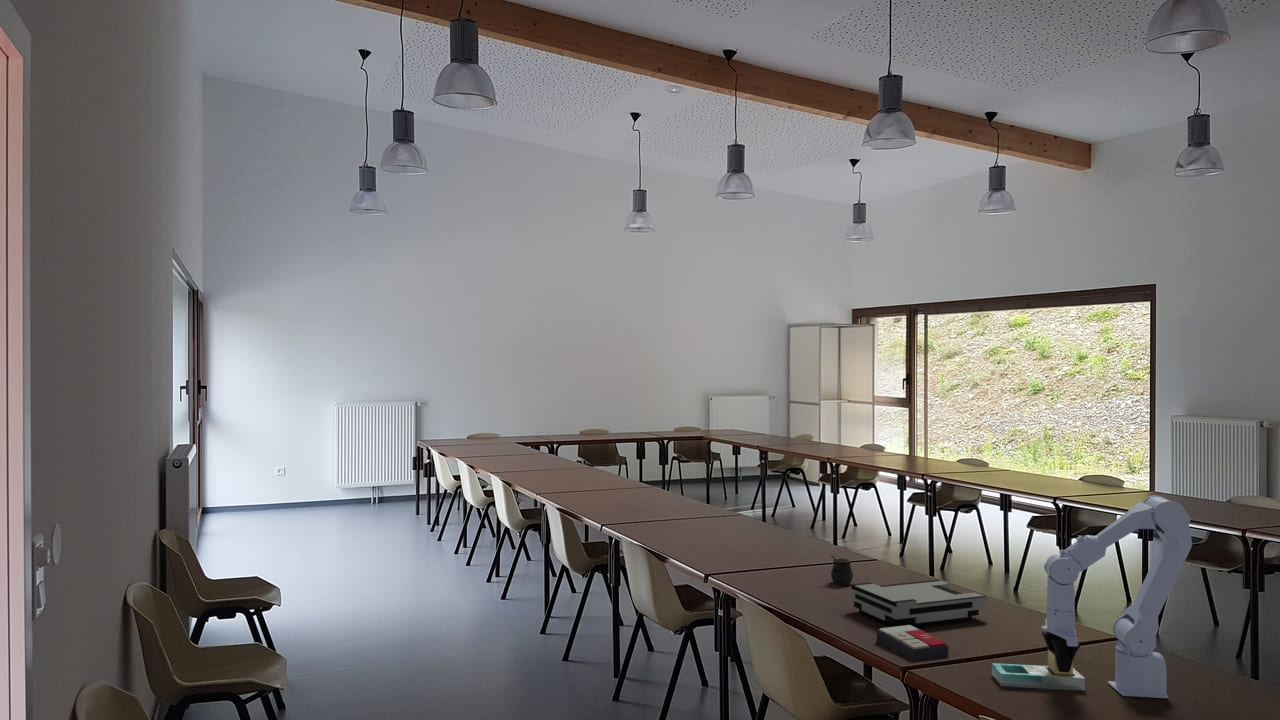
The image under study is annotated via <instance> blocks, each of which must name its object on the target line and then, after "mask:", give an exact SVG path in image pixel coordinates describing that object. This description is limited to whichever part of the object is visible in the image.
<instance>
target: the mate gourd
mask: <svg viewBox="0 0 1280 720" xmlns="http://www.w3.org/2000/svg"><path fill="white" fill-rule="evenodd" d="M829 555H830V556H831V557H832V558H833V566H832V569H831V571H830V576H831V579H832V581H833V582H834V583H835V584H836V585H839V586H847V585H850V584H852V581H853V577H854V572H853V570H852V567H851V559H848V558H844V557H841V558H835V557H834V555H833V554H832V553H829Z"/></svg>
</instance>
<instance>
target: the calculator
mask: <svg viewBox="0 0 1280 720" xmlns="http://www.w3.org/2000/svg"><path fill="white" fill-rule="evenodd" d="M876 643H878V644H880V645H882V646H884V647H886V648H888V649H890V650H892V651H895V652H896V653H897V654H899V655H901V656H903V657H905V658H908V659H910V660H912V661H918V660H926V659H934V658H941V657H948V656H949V648H950V647H949V645H948V644H947V643H946V642H945V641H943V640H942V639H939V638H937V637H936V636H933V635H931V634H930V633H928V632H926V631H924V630H922V629H919V628H915V627H913V626H912V625H905V626H897V627H893V626H889V627H882V628H879V629H878V628H877V629H876Z"/></svg>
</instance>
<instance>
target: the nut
mask: <svg viewBox="0 0 1280 720" xmlns="http://www.w3.org/2000/svg"><path fill="white" fill-rule="evenodd" d="M1047 666H1048V671H1049V672H1050V673H1051V674H1052V675H1062V676H1073V668H1074V660H1073V661H1072V665H1071V669H1070V672H1060V671H1059V669H1058V665H1057V657H1056V652H1055V649H1048V648H1047Z"/></svg>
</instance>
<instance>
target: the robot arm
mask: <svg viewBox="0 0 1280 720" xmlns="http://www.w3.org/2000/svg"><path fill="white" fill-rule="evenodd" d="M1190 522H1191V517H1190V515H1189V514H1188V512H1187V511H1186V510H1185V508H1184V507H1183V505H1181V504H1180V503H1178V502H1177V501H1172V500H1169V499H1167V498H1165V496H1161V495H1149V496H1148V497H1146V498H1145V499H1144V500H1143V501H1139V502H1137V503H1135V505H1133V506H1132V507H1131V508H1129V510H1128V511H1126V512H1124V514H1122V515H1121V516H1119V517H1118V518H1117V519H1115V520H1114V521H1113V522H1112V523H1111V524H1109V525H1108V526H1106V527H1105V528H1104V529H1103V530H1101V531H1100V532H1098V533H1097V534H1096V535H1091V534H1090V535H1089V534H1086V535H1084V536H1082V535H1079V536H1077V537H1076V538H1075V539H1076V541H1075V542H1074V543H1072V544H1071V545H1069V546H1068V547H1067V548H1065V549H1060V550H1059V551H1058V553H1057V554H1053V555H1051V556H1049V557H1048V558H1047V559H1046V562H1045V564H1044V565H1043V568H1044V571H1045V574H1047V575H1048V576H1047V586H1046V618H1044V625H1041V626H1040V627H1041V628H1040V629H1041V630H1042V631H1041V635H1042V637H1043V639H1044V640H1045V645H1046V648H1047V650H1048V649H1055V652H1056V657H1057V665H1058V669H1059V671H1060V672H1070V669H1071V665H1072V661H1073V662H1074V659H1075V657H1076V654H1077V652H1078V651H1079V649H1081V644H1080V643H1079V642H1078V641H1079V640H1078V637H1077V633H1076V627H1075V625H1076V623H1075V621H1076V620H1075V617H1076V616H1075V615H1076V613H1075V609H1076V608H1075V605H1076V603H1075V602H1076V601H1075V597H1076V596H1075V593H1076V590H1075V582H1076V581H1077V580H1078V578H1079V574H1080V573H1082V572H1083V571H1085V570H1087V569H1088V568H1089V567H1091V566H1092V565H1094V564H1096V563H1097V562H1098V561H1100V560H1102V559H1103V558H1104V557H1105V556H1106V552H1107V548H1109V547H1110V546H1112V545H1114V544H1115V543H1117V542H1119V541H1120V540H1121V539H1123V538H1125V537H1127V536H1129V535H1130V534H1132V533H1133V532H1136V531H1137V530H1144V529H1145V530H1156V533H1157V535H1158V536H1159V538H1160V540H1161V544H1160V547H1159V548H1158V551H1157V553H1156V555H1155V557H1154V559H1153V561H1152V563H1151V566H1150V568H1149V569H1148V572H1147V574H1146V576H1145V578H1144V580H1143V583H1142V585H1141V587H1140V589H1139V591H1138V593H1137V595H1136V597H1135V599H1134V601H1133V604H1131V605H1130V606H1128V607H1127V608H1125V610H1124V612H1123V614H1122V615H1121V616H1119V617H1118V618H1117V619H1116V620H1115V621H1114V622H1113V624H1112V631H1113V635H1114V636H1115V638H1116V639H1117V643H1116V644H1115V665H1114V666H1115V667H1114V668H1115V671H1114V672H1115V673H1114V675H1115V677H1114V678H1115V679H1114V680H1115V681H1114V680H1108V681H1107V684H1108V685H1110V686H1111V687H1112V688H1113V689H1114V690H1115V691H1116V692H1118V693H1119V694H1121V696H1123V697H1135V698H1136V697H1137V698H1152V699H1153V698H1154V699H1156V698H1157V699H1169V696H1168V695H1167V664H1166V661H1165V658H1164V656H1163V655H1162V654H1161V653H1160V652H1157V651H1156V652H1155V651H1154V650H1155V649H1156V647H1157V634H1158V632H1159V628H1160V627H1159V615H1160V614H1161V611H1162V610H1163V607H1164V605H1165V603H1166V601H1167V599H1168V596H1169V595H1170V593H1171V590H1172V589H1173V586H1174V585H1175V583H1176V581H1177V578H1178V576H1179V574H1180V572H1181V570H1182V567H1183V566H1184V565H1185V564H1184V563H1185V562H1186V559H1187V557H1188V556H1189V553H1190V551H1191V549H1192V546H1193V541H1192V534H1191V528H1190Z"/></svg>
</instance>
